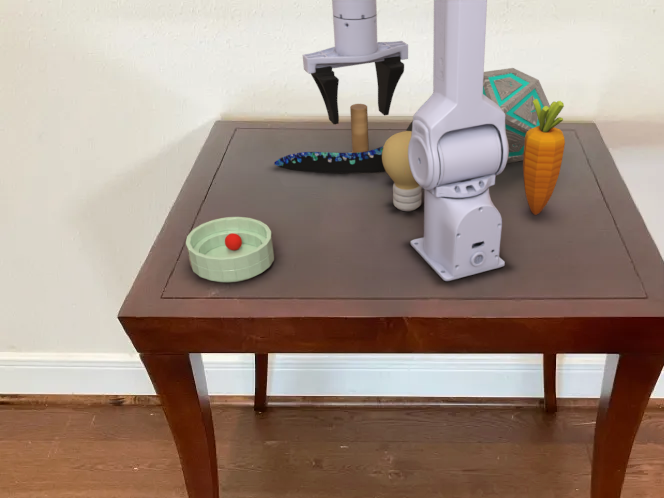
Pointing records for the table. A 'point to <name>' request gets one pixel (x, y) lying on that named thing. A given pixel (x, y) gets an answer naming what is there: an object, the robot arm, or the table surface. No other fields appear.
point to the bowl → (222, 262)
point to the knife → (334, 162)
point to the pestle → (359, 128)
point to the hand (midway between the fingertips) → (359, 117)
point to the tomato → (233, 241)
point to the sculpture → (515, 105)
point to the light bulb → (401, 172)
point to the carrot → (543, 156)
